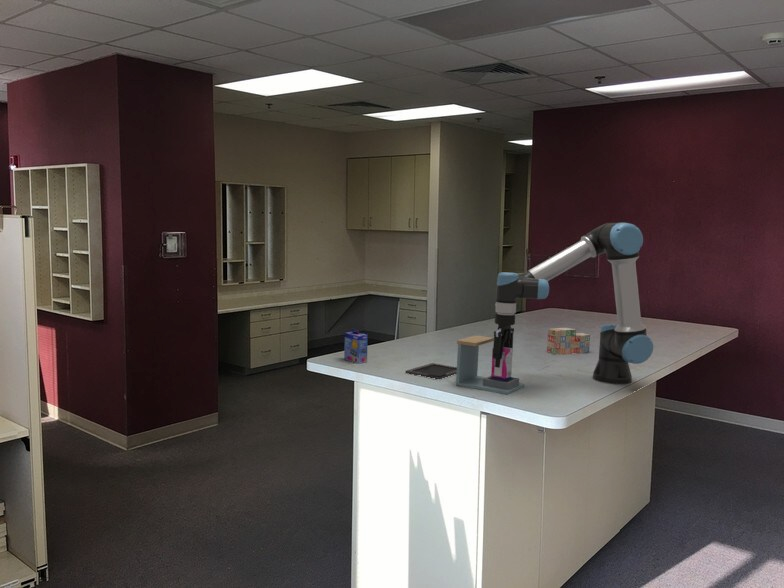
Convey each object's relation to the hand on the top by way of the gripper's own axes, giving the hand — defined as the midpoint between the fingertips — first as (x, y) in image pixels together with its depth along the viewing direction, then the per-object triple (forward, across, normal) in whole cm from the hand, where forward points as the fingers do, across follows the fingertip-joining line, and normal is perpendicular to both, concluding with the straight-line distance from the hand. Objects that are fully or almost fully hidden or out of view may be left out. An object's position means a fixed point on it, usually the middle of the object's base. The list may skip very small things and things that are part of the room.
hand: (501, 374), depth 250 cm
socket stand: (+5, 0, -5) cm, 7 cm away
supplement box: (+2, 0, 0) cm, 2 cm away
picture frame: (+6, -6, -32) cm, 33 cm away
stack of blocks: (+5, -91, -4) cm, 91 cm away
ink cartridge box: (+6, -1, -69) cm, 69 cm away
